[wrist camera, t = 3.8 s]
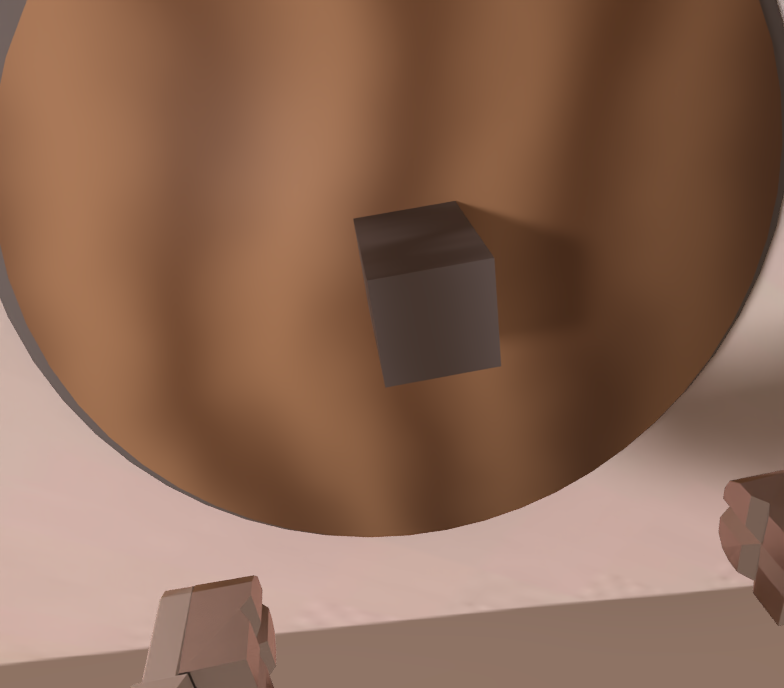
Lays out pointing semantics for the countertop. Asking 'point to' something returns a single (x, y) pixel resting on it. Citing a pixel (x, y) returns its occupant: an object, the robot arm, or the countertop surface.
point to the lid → (383, 236)
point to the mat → (3, 11)
